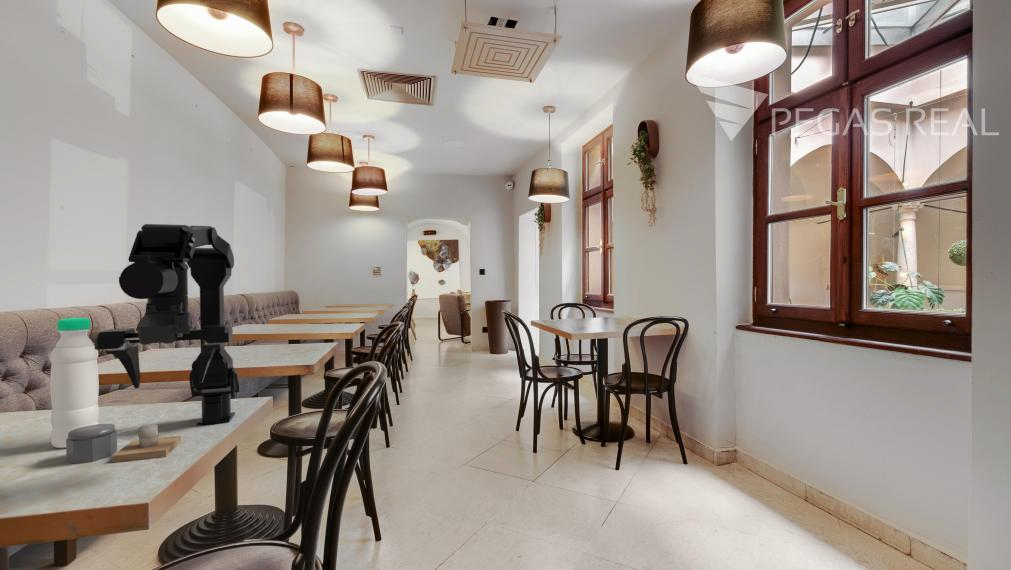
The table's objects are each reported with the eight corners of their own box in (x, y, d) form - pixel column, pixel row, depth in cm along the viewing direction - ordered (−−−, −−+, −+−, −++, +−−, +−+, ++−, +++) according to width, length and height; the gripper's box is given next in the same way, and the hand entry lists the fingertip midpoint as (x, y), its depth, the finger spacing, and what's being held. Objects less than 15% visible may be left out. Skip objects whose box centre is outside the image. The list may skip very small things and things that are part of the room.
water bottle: (70, 450, 87) (67, 320, 87) (41, 447, 88) (39, 319, 88) (108, 437, 94) (106, 317, 94) (81, 435, 95) (79, 316, 95)
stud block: (132, 446, 89) (132, 423, 89) (180, 441, 91) (180, 418, 91) (112, 462, 81) (112, 436, 81) (166, 456, 84) (165, 431, 84)
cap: (80, 452, 86) (79, 425, 86) (121, 447, 88) (121, 422, 88) (60, 465, 80) (59, 436, 80) (105, 460, 82) (104, 432, 82)
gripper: (78, 300, 68) (80, 403, 68) (223, 297, 76) (224, 390, 76) (106, 296, 78) (108, 386, 79) (232, 294, 86) (233, 376, 86)
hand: (169, 385), depth 80 cm, fingers open, 9 cm apart
